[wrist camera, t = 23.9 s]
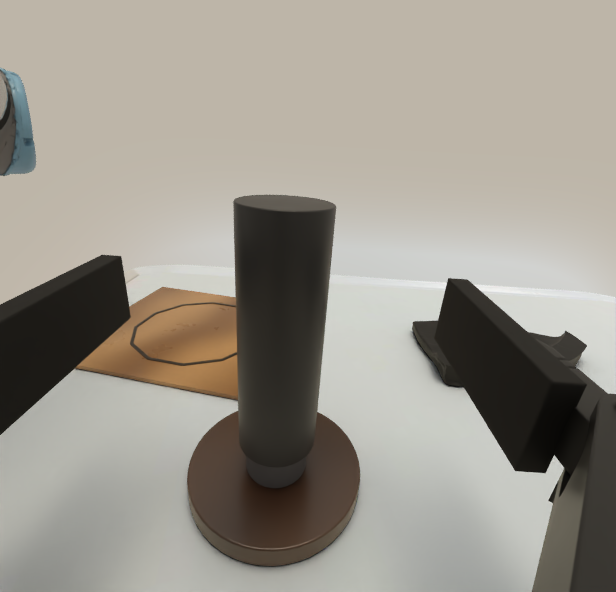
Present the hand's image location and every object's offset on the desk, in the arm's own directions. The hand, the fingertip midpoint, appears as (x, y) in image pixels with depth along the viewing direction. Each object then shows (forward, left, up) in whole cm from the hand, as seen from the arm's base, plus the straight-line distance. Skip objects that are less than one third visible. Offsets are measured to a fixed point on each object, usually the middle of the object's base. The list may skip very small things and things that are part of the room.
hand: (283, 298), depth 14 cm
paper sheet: (-10, +11, -9) cm, 17 cm away
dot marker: (0, -1, -8) cm, 8 cm away
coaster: (0, -1, -9) cm, 9 cm away
